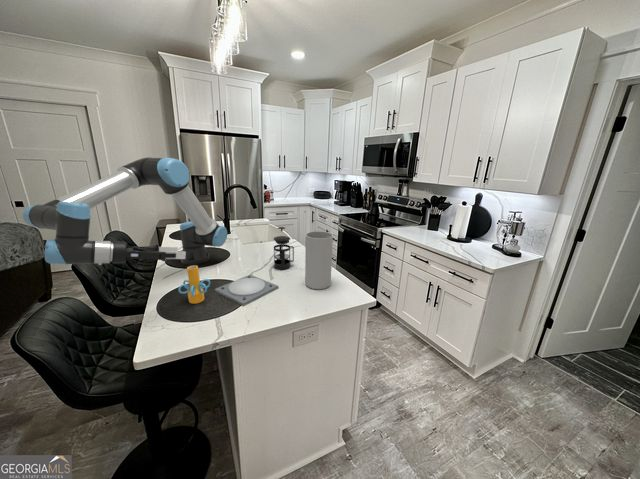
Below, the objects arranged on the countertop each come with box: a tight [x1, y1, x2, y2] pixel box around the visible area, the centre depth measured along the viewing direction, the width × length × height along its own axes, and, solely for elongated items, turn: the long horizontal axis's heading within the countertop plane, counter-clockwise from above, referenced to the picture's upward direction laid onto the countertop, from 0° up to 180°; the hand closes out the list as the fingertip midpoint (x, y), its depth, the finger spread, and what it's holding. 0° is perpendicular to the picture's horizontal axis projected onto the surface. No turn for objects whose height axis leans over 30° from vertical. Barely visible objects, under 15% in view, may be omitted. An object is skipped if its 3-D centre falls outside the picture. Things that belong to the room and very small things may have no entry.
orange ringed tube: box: [177, 264, 211, 305], centre depth 105 cm, size 12×10×15 cm
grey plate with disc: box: [214, 274, 279, 307], centre depth 117 cm, size 20×20×2 cm
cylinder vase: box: [304, 230, 334, 290], centre depth 121 cm, size 12×12×25 cm
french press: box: [273, 226, 295, 271], centre depth 141 cm, size 12×9×23 cm
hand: (181, 252), depth 101 cm, fingers open, 13 cm apart
